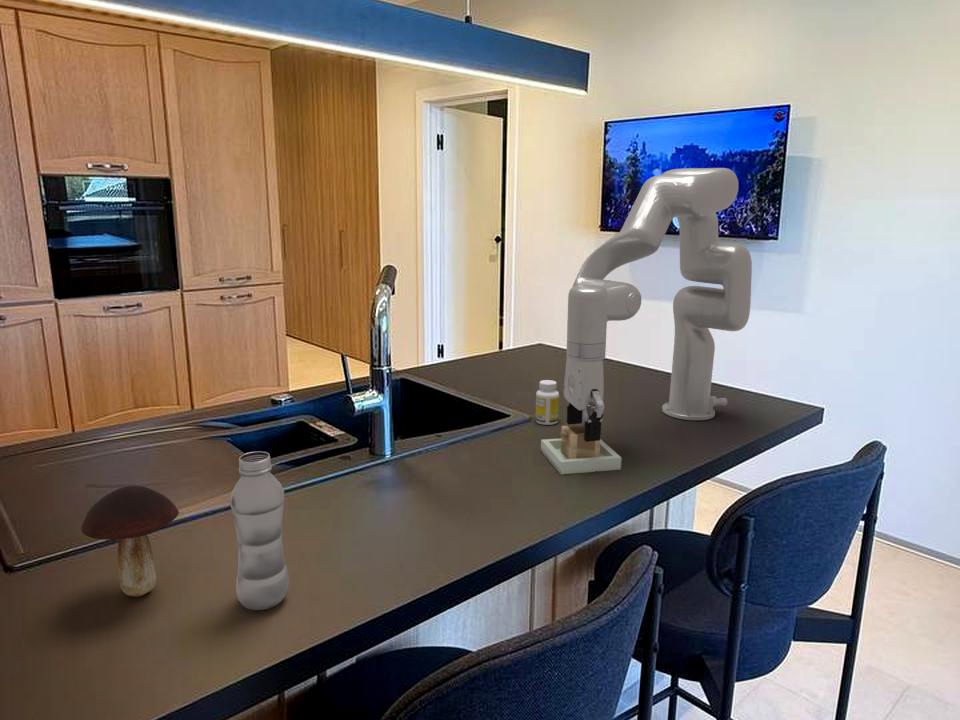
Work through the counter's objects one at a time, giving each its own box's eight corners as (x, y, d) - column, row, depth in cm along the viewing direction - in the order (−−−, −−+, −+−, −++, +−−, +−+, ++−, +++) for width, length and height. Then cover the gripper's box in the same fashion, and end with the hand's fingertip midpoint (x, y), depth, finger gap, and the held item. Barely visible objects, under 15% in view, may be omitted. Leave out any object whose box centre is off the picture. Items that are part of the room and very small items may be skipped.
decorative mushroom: (137, 565, 94) (126, 466, 90) (203, 579, 91) (193, 477, 87) (71, 609, 84) (55, 500, 80) (142, 626, 81) (128, 513, 77)
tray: (596, 447, 142) (596, 436, 142) (620, 469, 130) (621, 457, 130) (540, 450, 139) (541, 439, 139) (560, 474, 128) (561, 462, 127)
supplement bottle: (557, 418, 160) (559, 379, 158) (558, 426, 155) (560, 385, 153) (535, 417, 161) (536, 378, 158) (534, 425, 155) (536, 384, 153)
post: (583, 436, 149) (585, 393, 146) (586, 439, 147) (589, 395, 144) (575, 436, 148) (577, 393, 146) (578, 439, 146) (580, 396, 144)
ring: (556, 452, 137) (557, 426, 135) (592, 449, 138) (594, 424, 137) (565, 463, 131) (567, 436, 130) (603, 460, 133) (605, 433, 131)
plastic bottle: (225, 610, 84) (213, 462, 80) (260, 582, 90) (251, 444, 86) (267, 622, 82) (257, 471, 77) (300, 593, 88) (293, 451, 83)
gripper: (553, 340, 137) (551, 419, 141) (584, 361, 121) (581, 449, 125) (587, 338, 139) (584, 416, 143) (622, 359, 122) (618, 446, 127)
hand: (582, 431), depth 134 cm, fingers open, 9 cm apart
